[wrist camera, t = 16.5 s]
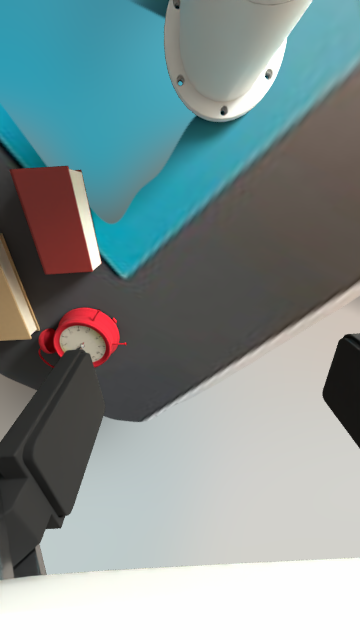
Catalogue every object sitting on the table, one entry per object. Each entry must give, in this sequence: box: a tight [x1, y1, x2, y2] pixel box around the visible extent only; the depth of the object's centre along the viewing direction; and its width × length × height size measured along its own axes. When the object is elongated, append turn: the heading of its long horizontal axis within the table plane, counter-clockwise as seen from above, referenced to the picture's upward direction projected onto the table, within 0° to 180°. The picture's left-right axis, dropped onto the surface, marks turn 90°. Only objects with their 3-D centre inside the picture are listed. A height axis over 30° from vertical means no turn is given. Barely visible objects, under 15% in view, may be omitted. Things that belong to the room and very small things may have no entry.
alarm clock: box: [39, 308, 127, 368], centre depth 39 cm, size 10×6×15 cm
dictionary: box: [10, 166, 102, 274], centre depth 30 cm, size 12×6×4 cm, turn 3°
